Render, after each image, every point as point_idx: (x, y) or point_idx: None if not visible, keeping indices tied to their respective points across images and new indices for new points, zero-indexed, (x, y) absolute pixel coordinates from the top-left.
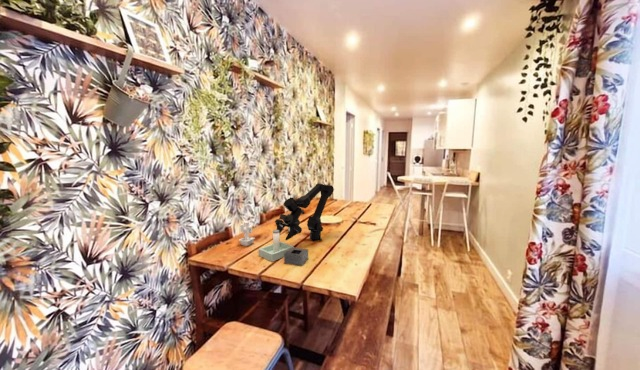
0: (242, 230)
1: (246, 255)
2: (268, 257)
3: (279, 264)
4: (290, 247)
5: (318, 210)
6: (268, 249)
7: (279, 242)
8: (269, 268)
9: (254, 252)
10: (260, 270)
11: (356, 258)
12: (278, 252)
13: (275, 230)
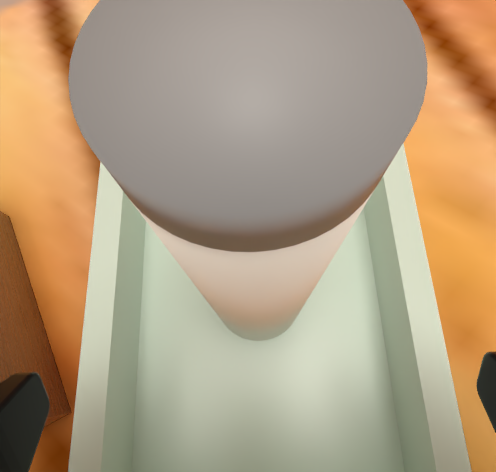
0: None
1: (449, 64)
2: None
3: (32, 169)
4: (74, 466)
5: None
6: (377, 240)
7: (201, 293)
8: (52, 73)
9: (479, 150)
10: (86, 15)
11: None
12: (98, 200)
13: (308, 52)
